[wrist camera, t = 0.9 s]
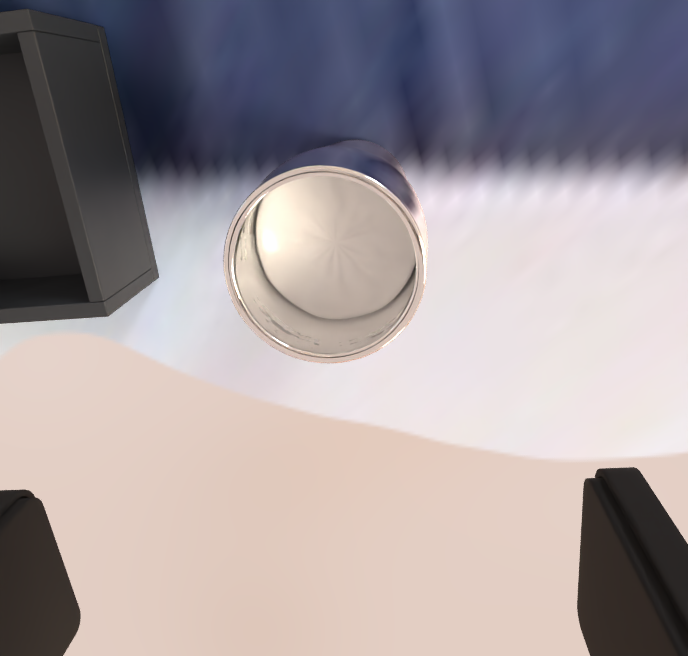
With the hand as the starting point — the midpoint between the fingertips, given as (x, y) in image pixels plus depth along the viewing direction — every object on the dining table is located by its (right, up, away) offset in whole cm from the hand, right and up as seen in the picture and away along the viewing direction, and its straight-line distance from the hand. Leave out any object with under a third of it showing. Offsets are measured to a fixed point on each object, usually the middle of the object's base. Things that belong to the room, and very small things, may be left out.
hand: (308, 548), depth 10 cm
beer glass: (+1, +11, +23) cm, 25 cm away
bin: (-18, +13, +24) cm, 32 cm away
